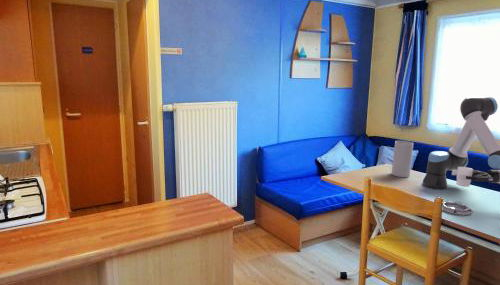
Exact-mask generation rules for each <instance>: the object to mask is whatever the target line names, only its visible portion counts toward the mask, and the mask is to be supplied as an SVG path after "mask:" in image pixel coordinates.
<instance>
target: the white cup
mask: <svg viewBox="0 0 500 285" xmlns="http://www.w3.org/2000/svg"><path fill="white" fill-rule="evenodd" d="M456 171H457V175H456V185H457V186H460V187H463V188H464V187H465V188H468V187H470V185H471V182H472V179H471V180H463V179H459V174H461V175H472V174H473V171H474V169H473V168H471V167H467V166H466V167H458V169H457V170H456Z"/></svg>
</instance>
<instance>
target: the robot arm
mask: <svg viewBox="0 0 500 285" xmlns="http://www.w3.org/2000/svg"><path fill="white" fill-rule="evenodd" d="M498 107H499V106H498V103H497V100H496V99H495V98H494V97H491V96H489V95H488V96H487V95H483V96H482V95H481V96H479V95H477V96H475V95H471V96H467V97H466V98H464V99H463V100H462V101H461V103H460V106H459V111H460V114H461V116H462V118H463V120H464V121H465V122H464V124H463V127H462V128H461V130H460V132H459V134H458V136H457V138H456V140H455V142H454V145H453V146H452V147H450V148H449V149H448V151H444V150H434V151H431V152H430V153H429V155H428V160H427V167H426V174H425V175H424V177H423V179H422V182H421V184H422V186H425V187H427V188H429V189H434V190H436V189H437V190H445V189H447V188H448V181H447V176H446V175H447V171H451V176H457V169H458V167H467V165H468V163H469V158H468V155H469V154H468V151H469V149H470V146H471V145H472V143H473V141H474V139H475V137H476V138H477V139H478V141H479V143H480V145H481V147H483V150H484V151H485V152H486V155H487V157H488V159H487V164H488V166H489V167H490V168H492V169H489V170H487V171H486V172H485V171H481V170H473V174H472V175H461V174H459V179H463V180H471V181H474V182H488V183H490V184H499V185H500V143H499V142H498V141H497V140H496V139H497V138H495V136H494V133H493V132H492V131H491V130H490V129H491V128H489V126H488V125H487V122H486V121H487V120H488V119H489V117H490V116H491V115H494V114H496V113H497V110H498Z"/></svg>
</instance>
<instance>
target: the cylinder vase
mask: <svg viewBox="0 0 500 285" xmlns="http://www.w3.org/2000/svg"><path fill="white" fill-rule="evenodd" d="M393 148H394V149H393V157H392V164H391V165H392V166H391V175H392V176H395V177H397V178H398V177H399V178H408V177H410V175H411V167H412V166H411V165H412V158H413V152H414V151H413V150H414V142H412V141H407V140H395V142H394V147H393Z"/></svg>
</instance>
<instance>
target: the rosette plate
mask: <svg viewBox="0 0 500 285" xmlns="http://www.w3.org/2000/svg"><path fill="white" fill-rule="evenodd" d="M443 202H444V205H443V211H442V212H443V213H446V214H449V215H454V216H458V217H469V216H471V215H472V212H474V210H472V209H471V208H470V207H469V206H468V205H467V204H465V203H464V204H463V203H461V202H457V201H449V200H447V201H443Z"/></svg>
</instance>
